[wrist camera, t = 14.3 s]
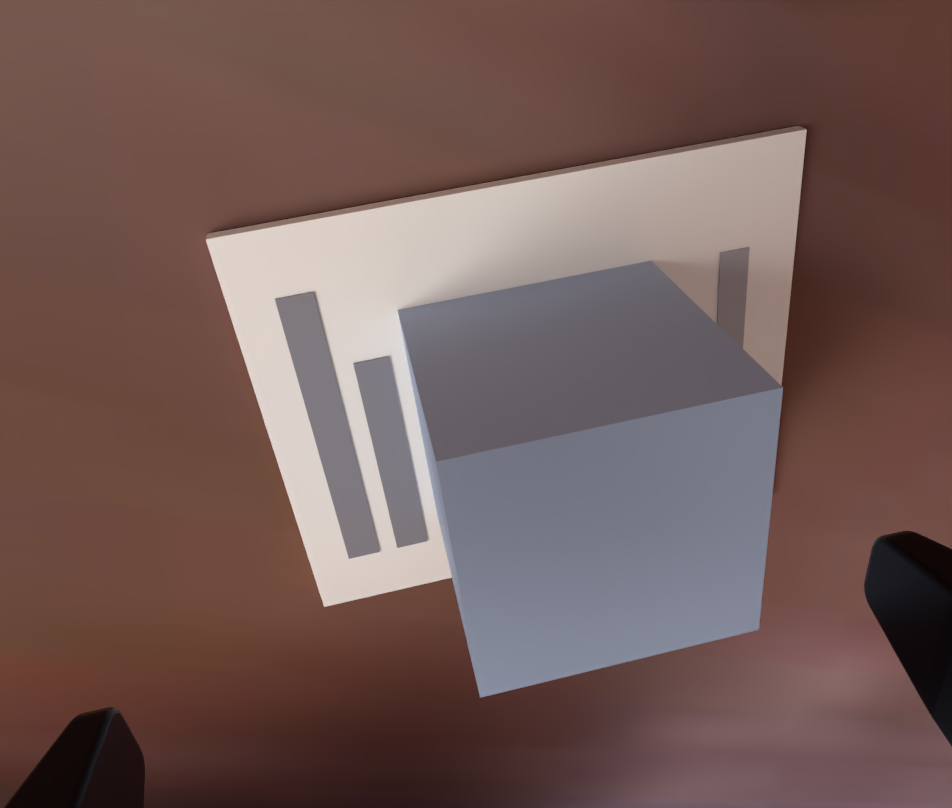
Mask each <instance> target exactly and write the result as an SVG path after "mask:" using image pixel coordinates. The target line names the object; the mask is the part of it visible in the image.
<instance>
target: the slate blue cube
mask: <svg viewBox="0 0 952 808" xmlns="http://www.w3.org/2000/svg"><path fill="white" fill-rule="evenodd" d="M398 315H399V320H400V326H401V331H402V336H403V341H404V346H405V351H406V357H407V362H408V367H409V372H410V377H411V382H412V387H413V393H414V398H415V403H416V408H417V413H418V418H419V423H420V429H421V434H422V439H423V444H424V449H425V454H426V460H427V465H428V470H429V475H430V480H431V485H432V490H433V496H434V501H435V506H436V511H437V516H438V520H439V524H440V528H441V533H442V537H443V541H444V545H445V550H446V554H447V558H448V563H449V567H450V571H451V575H452V580H453V584H454V588H455V592H456V597H457V601H458V605H459V609H460V614H461V618H462V622H463V627H464V631H465V635H466V639H467V644H468V648H469V652H470V656H471V661H472V665H473V669H474V673H475V678H476V682H477V686H478V691H479V695H480V698H481V697H485V696H489V695H493V694H498V693H502V692H506V691H510V690H514V689H518V688H522V687H526V686H530V685H534V684H538V683H543V682H547V681H551V680H555V679H559V678H563V677H567V676H571V675H575V674H579V673H584V672H588V671H592V670H596V669H600V668H604V667H608V666H612V665H616V664H620V663H624V662H629V661H633V660H637V659H641V658H645V657H649V656H653V655H657V654H661V653H665V652H669V651H674V650H678V649H682V648H686V647H690V646H694V645H698V644H702V643H706V642H710V641H715V640H719V639H723V638H727V637H731V636H735V635H739V634H743V633H747V632H751V631H755V630H759V622H760V612H761V602H762V592H763V582H764V572H765V563H766V553H767V543H768V533H769V523H770V513H771V503H772V493H773V483H774V474H775V464H776V454H777V444H778V434H779V424H780V414H781V404H782V395H783V387H782V386H781V385H780V384H779V383H778V382H777V381H776V380H775V379H774V378H773V377H772V376H771V375H770V374H769V373H768V372H766V371H765V370H764V369H763V368H762V367H761V366H760V365H759V364H758V363H757V362H756V361H755V360H754V359H753V358H752V357H751V356H750V355H749V354H748V353H747V352H746V351H745V350H744V349H743V348H742V347H740V346H739V345H738V344H737V343H736V342H735V341H734V340H733V339H732V338H731V337H730V336H729V335H728V334H727V333H726V332H725V331H724V330H723V329H722V328H721V327H720V326H719V325H718V324H717V323H715V322H714V321H713V320H712V319H711V318H710V317H709V316H708V315H707V314H706V313H705V312H704V311H703V310H702V309H701V308H700V307H699V306H698V305H697V304H696V303H695V302H694V301H693V300H692V299H690V298H689V297H688V296H687V295H686V294H685V293H684V292H683V291H682V290H681V289H680V288H679V287H678V286H677V285H676V284H675V283H674V282H673V281H672V280H671V279H670V278H669V277H668V276H667V275H665V274H664V273H663V272H662V271H661V270H660V269H659V268H658V267H657V266H656V265H655V264H654V263H653V262H652V261H646V262H641V263H636V264H631V265H626V266H621V267H616V268H610V269H605V270H600V271H595V272H590V273H585V274H580V275H574V276H569V277H564V278H559V279H554V280H549V281H544V282H538V283H533V284H528V285H523V286H518V287H513V288H508V289H502V290H497V291H492V292H487V293H482V294H477V295H472V296H466V297H461V298H456V299H451V300H446V301H441V302H436V303H430V304H425V305H420V306H415V307H410V308H405V309H400V310H398Z"/></svg>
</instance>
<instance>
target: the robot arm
mask: <svg viewBox="0 0 952 808" xmlns="http://www.w3.org/2000/svg"><path fill="white" fill-rule="evenodd" d="M864 590H865V596H866V599H867V602H868V604H869V606H870V608H871V610H872V611H873V613H874V615H875V617H876V619H877V620H878V622H879V624H880V626H881V628H882V629H883V631H884V633H885V635H886V637H887V638H888V640H889V642H890V644H891V646H892V647H893V649H894V651H895V653H896V655H897V656H898V658H899V660H900V662H901V664H902V665H903V667H904V669H905V671H906V673H907V674H908V676H909V678H910V680H911V682H912V683H913V685H914V687H915V689H916V690H917V692H918V694H919V696H920V698H921V699H922V701H923V703H924V704H925V706H926V708H927V709H928V711H929V713H930V714H931V716H932V718H933V719H934V721H935V722H936V724H937V725H938V727H939V728H940V730H941V731H942V733H943V734H944V736H945V737H946V739H947V740H948V741H949V743H950V744H951V746H952V549H950V548H948V547H946V546H944V545H942V544H940V543H937V542H935V541H933V540H931V539H929V538H927V537H925V536H922V535H920V534H918V533H915V532H912V531H902V532H897V533H893V534H888V535H884V536H880V537H878V538H877V539H876V540H875V542H874V543H873V546H872V550H871V555H870V559H869V564H868V569H867V573H866V578H865V583H864ZM144 782H145V765H144V758H143V754H142V751H141V749H140V747H139V745H138V743H137V741H136V739H135V737H134V736H133V734H132V732H131V730H130V728H129V726H128V725H127V723H126V721H125V719H124V717H123V715H122V714H121V712H120V711H119V710H118V709H116V708H114V707H108V708H104V709H99V710H95V711H90V712H86V713H82V714H79V715H78V716H76V717H75V718H74V719H73V720H71V722H70V723H69V724H68V725H67V727H66V728H65V729H64V730H63V732H62V733H61V734H60V736H59V737H58V738H57V740H56V741H55V742H54V743H53V745H52V746H51V747H50V749H49V750H48V751H47V752H46V754H45V755H44V756H43V758H42V759H41V760H40V762H39V763H38V764H37V765H36V767H35V768H34V769H33V771H32V772H31V773H30V774H29V776H28V777H27V778H26V780H25V781H24V782H23V783H22V785H21V786H20V787H19V789H18V790H17V791H16V793H15V794H14V795H13V796H12V798H11V799H10V800H9V802H8V803H7V804H6V805H5V807H4V808H143V806H144Z"/></svg>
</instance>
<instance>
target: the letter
mask: <svg viewBox="0 0 952 808" xmlns="http://www.w3.org/2000/svg"><path fill="white" fill-rule="evenodd" d="M806 132H807V129H805V128H802V127H800V126H794V127H789V128H783V129H778V130H772V131H767V132H762V133H756V134H751V135H745V136H740V137H734V138H729V139H723V140H718V141H712V142H707V143H701V144H696V145H690V146H685V147H679V148H674V149H668V150H663V151H657V152H652V153H646V154H641V155H635V156H630V157H625V158H619V159H614V160H608V161H603V162H597V163H592V164H586V165H581V166H575V167H570V168H564V169H559V170H553V171H548V172H542V173H537V174H531V175H526V176H520V177H515V178H509V179H504V180H499V181H493V182H488V183H482V184H477V185H471V186H466V187H460V188H455V189H449V190H444V191H438V192H433V193H427V194H422V195H416V196H411V197H405V198H400V199H394V200H389V201H383V202H378V203H372V204H367V205H362V206H356V207H351V208H345V209H340V210H334V211H329V212H323V213H318V214H312V215H307V216H301V217H296V218H290V219H285V220H279V221H274V222H268V223H263V224H257V225H252V226H246V227H241V228H236V229H230V230H225V231H219V232H214V233H208V234H207V237H206V242H207V245H208V248H209V251H210V254H211V258H212V261H213V264H214V267H215V270H216V273H217V276H218V279H219V282H220V285H221V288H222V292H223V295H224V298H225V301H226V304H227V307H228V310H229V313H230V316H231V319H232V323H233V326H234V329H235V332H236V335H237V338H238V341H239V344H240V347H241V350H242V354H243V357H244V360H245V363H246V366H247V369H248V372H249V375H250V378H251V381H252V385H253V388H254V391H255V394H256V397H257V400H258V403H259V406H260V409H261V412H262V416H263V419H264V422H265V425H266V428H267V431H268V434H269V437H270V440H271V443H272V447H273V450H274V453H275V456H276V459H277V462H278V465H279V468H280V471H281V474H282V477H283V481H284V484H285V487H286V490H287V493H288V496H289V499H290V502H291V505H292V508H293V512H294V515H295V518H296V521H297V524H298V527H299V530H300V533H301V536H302V539H303V543H304V546H305V549H306V552H307V555H308V558H309V561H310V564H311V567H312V570H313V574H314V577H315V580H316V583H317V586H318V589H319V592H320V595H321V598H322V601H323V605H324V607H326V606H330V605H334V604H339V603H343V602H348V601H352V600H356V599H361V598H365V597H369V596H374V595H378V594H382V593H387V592H391V591H395V590H400V589H404V588H408V587H413V586H417V585H422V584H426V583H430V582H435V581H439V580H443V579H448V578H452V575H451V571H450V567H449V563H448V558H447V554H446V550H445V545H444V541H443V537H442V533H441V528H440V524H439V520H438V516H437V511H436V506H435V501H434V496H433V490H432V485H431V480H430V475H429V470H428V465H427V460H426V454H425V449H424V444H423V439H422V434H421V429H420V423H419V418H418V413H417V408H416V403H415V398H414V393H413V387H412V382H411V377H410V372H409V367H408V362H407V357H406V351H405V346H404V341H403V336H402V331H401V326H400V320H399V315H398V310H400V309H405V308H410V307H415V306H420V305H425V304H430V303H436V302H441V301H446V300H451V299H456V298H461V297H466V296H472V295H477V294H482V293H487V292H492V291H497V290H502V289H508V288H513V287H518V286H523V285H528V284H533V283H538V282H544V281H549V280H554V279H559V278H564V277H569V276H574V275H580V274H585V273H590V272H595V271H600V270H605V269H610V268H616V267H621V266H626V265H631V264H636V263H641V262H646V261H652V262H653V263H654V264H655V265H656V266H657V267H658V268H659V269H660V270H661V271H662V272H663V273H664V274H665V275H667V276H668V277H669V278H670V279H671V280H672V281H673V282H674V283H675V284H676V285H677V286H678V287H679V288H680V289H681V290H682V291H683V292H684V293H685V294H686V295H687V296H688V297H689V298H690V299H692V300H693V301H694V302H695V303H696V304H697V305H698V306H699V307H700V308H701V309H702V310H703V311H704V312H705V313H706V314H707V315H708V316H709V317H710V318H711V319H712V320H713V321H714V322H715V323H717V324H718V325H719V326H720V327H721V328H722V329H723V330H724V331H725V332H726V333H727V334H728V335H729V336H730V337H731V338H732V339H733V340H734V341H735V342H736V343H737V344H738V345H739V346H740V347H742V348H743V349H744V350H745V351H746V352H747V353H748V354H749V355H750V356H751V357H752V358H753V359H754V360H755V361H756V362H757V363H758V364H759V365H760V366H761V367H762V368H763V369H764V370H765V371H766V372H768V373H769V374H770V375H771V376H772V377H773V378H774V379H775V380H776V381H777V382H778V383H779V384H780V385H781V386H782V376H783V366H784V356H785V346H786V335H787V325H788V315H789V305H790V295H791V285H792V274H793V264H794V254H795V244H796V234H797V223H798V213H799V203H800V193H801V183H802V172H803V162H804V152H805V142H806Z"/></svg>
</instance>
